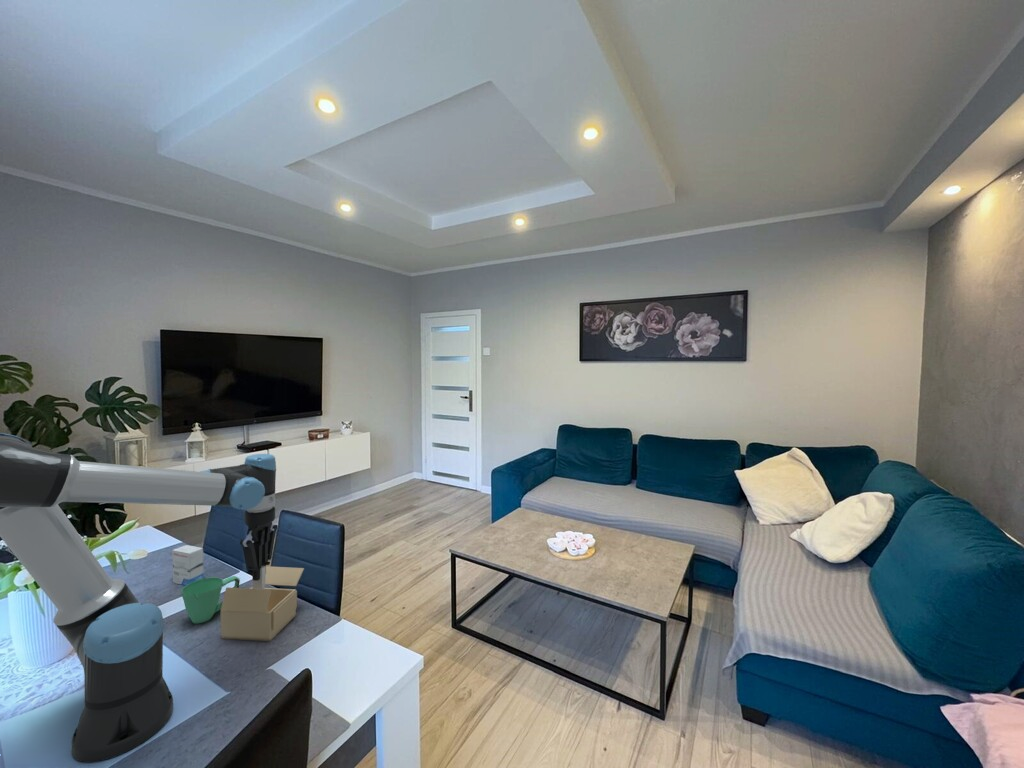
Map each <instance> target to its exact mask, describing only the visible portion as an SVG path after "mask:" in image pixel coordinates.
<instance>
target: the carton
mask: <svg viewBox="0 0 1024 768" xmlns="http://www.w3.org/2000/svg"><path fill="white" fill-rule="evenodd" d="M247 589H253V586H251V587H250V588H247ZM265 589H266V590H271V594H270V599H269V603H268V608H267V612H250V611H233V610H221V609H220V631H221V632H220V633H221V635H220V639H225V640H238V641H239V640H240V641H242V640H243V641H260V642H271V641H272V640H273V639H274V638H275V637H276V636H277V635H278V634H279V633H280V632H281V630H283V628H285V627H286V626H287V625H288V624H289V622H290V621H291V620H293V618H295V617H296V615H297V614H296V613H297V611H296V610H297V607H298V606H297V605H298V604H297V603H298V591H297V589H296V588H295V589H294V588H293V589H291V588H276V587H275V588H274V587H265Z"/></svg>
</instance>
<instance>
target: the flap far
mask: <svg viewBox="0 0 1024 768" xmlns="http://www.w3.org/2000/svg"><path fill="white" fill-rule="evenodd" d="M304 570H305V568H304V567H287V566H286V567H285V566H269V565H266V575H265V586H267V585H268V586H283V587H297V585H298V583H299V582H300V581H299V580H300V579H301V577H302V575H303V572H304Z"/></svg>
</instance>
